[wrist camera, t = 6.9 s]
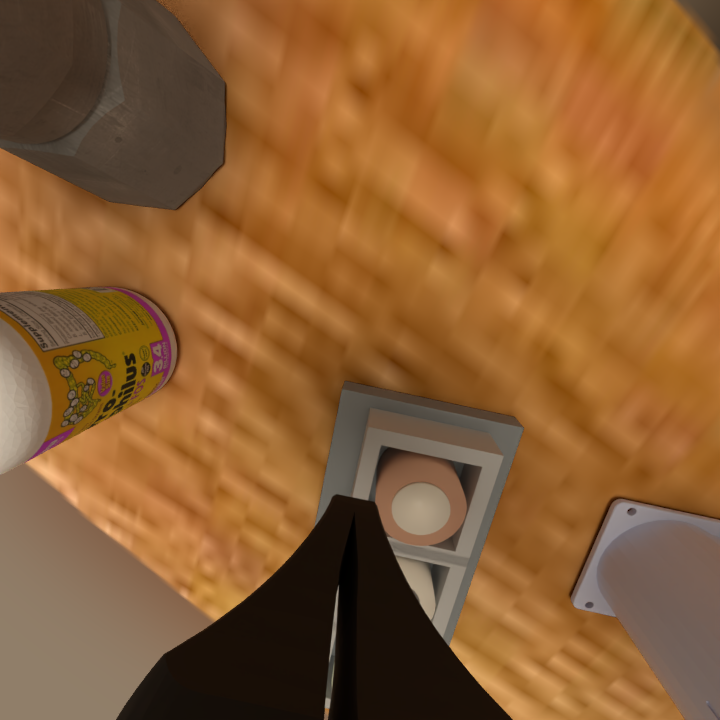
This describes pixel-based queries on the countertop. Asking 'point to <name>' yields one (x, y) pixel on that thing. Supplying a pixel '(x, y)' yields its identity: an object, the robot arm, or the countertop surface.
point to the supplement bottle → (75, 363)
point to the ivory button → (419, 582)
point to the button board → (434, 438)
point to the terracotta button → (418, 497)
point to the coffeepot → (110, 98)
